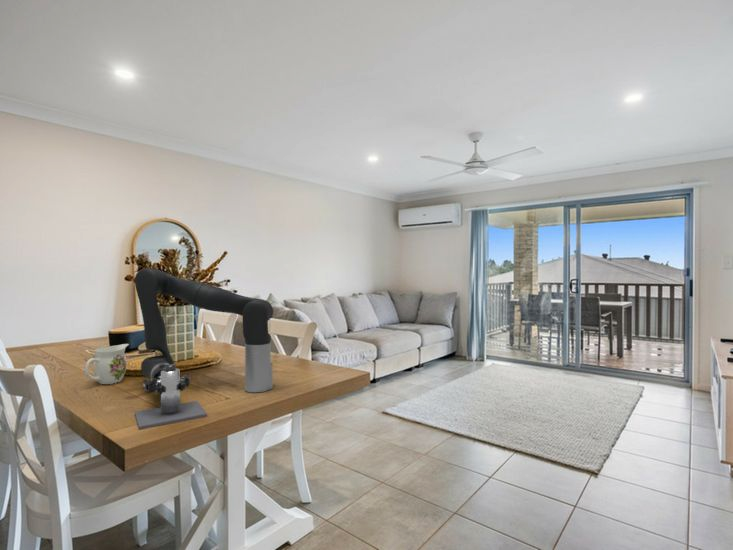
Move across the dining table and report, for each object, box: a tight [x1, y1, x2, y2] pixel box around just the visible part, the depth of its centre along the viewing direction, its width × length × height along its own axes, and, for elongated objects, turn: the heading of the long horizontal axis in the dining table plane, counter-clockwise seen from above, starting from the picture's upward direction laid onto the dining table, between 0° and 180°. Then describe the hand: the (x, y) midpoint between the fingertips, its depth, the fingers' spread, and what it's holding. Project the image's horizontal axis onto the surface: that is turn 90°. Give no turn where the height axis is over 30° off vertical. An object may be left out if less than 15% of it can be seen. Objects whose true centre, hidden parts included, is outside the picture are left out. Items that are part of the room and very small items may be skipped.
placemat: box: [134, 400, 208, 430], centre depth 122 cm, size 18×14×1 cm
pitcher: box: [84, 343, 130, 385], centre depth 155 cm, size 11×18×14 cm, turn 162°
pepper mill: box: [160, 363, 181, 413], centre depth 122 cm, size 5×5×14 cm
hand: (171, 388), depth 120 cm, fingers closed on pepper mill, 5 cm apart
